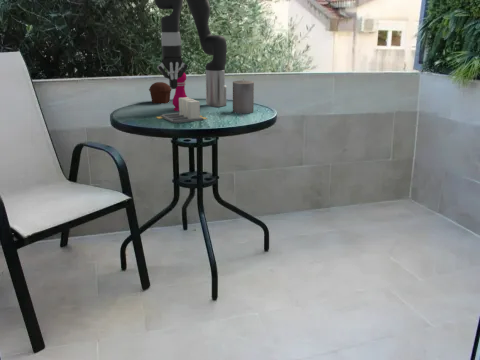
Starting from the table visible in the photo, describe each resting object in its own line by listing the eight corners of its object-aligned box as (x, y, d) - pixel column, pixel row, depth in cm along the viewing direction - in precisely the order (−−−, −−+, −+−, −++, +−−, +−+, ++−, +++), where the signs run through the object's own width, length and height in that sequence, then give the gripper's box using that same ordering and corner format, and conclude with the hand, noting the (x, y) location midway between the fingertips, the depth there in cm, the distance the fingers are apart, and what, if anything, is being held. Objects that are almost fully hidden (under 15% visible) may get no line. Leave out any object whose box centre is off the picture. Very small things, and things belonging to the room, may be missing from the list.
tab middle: (192, 116, 196) (191, 98, 194) (195, 117, 194) (194, 99, 191) (183, 117, 195) (183, 99, 192) (186, 118, 192) (186, 100, 189)
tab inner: (187, 114, 200) (187, 97, 198) (190, 115, 198) (190, 98, 195) (179, 115, 199) (178, 97, 196) (182, 116, 196) (181, 98, 193)
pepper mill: (191, 111, 214) (190, 67, 207) (184, 113, 207) (183, 68, 201) (177, 110, 216) (175, 66, 209) (170, 112, 209) (168, 67, 203)
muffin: (176, 101, 238) (176, 82, 235) (162, 104, 229) (161, 84, 226) (159, 99, 244) (158, 80, 241) (144, 102, 235) (143, 82, 232)
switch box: (196, 115, 204) (196, 111, 203) (210, 121, 191) (210, 117, 191) (152, 119, 195) (152, 115, 194) (165, 126, 182) (164, 121, 182)
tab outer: (196, 118, 192) (196, 100, 190) (199, 119, 190) (199, 101, 187) (187, 119, 191) (187, 101, 188) (190, 120, 188) (190, 102, 185)
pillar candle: (236, 109, 219) (236, 77, 214) (256, 110, 216) (256, 78, 211) (229, 113, 211) (229, 79, 206) (249, 114, 208) (250, 80, 203)
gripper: (183, 43, 187) (185, 86, 193) (152, 44, 181) (154, 88, 187) (190, 44, 181) (192, 88, 187) (158, 45, 175) (161, 91, 181)
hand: (173, 88), depth 187 cm, fingers closed
